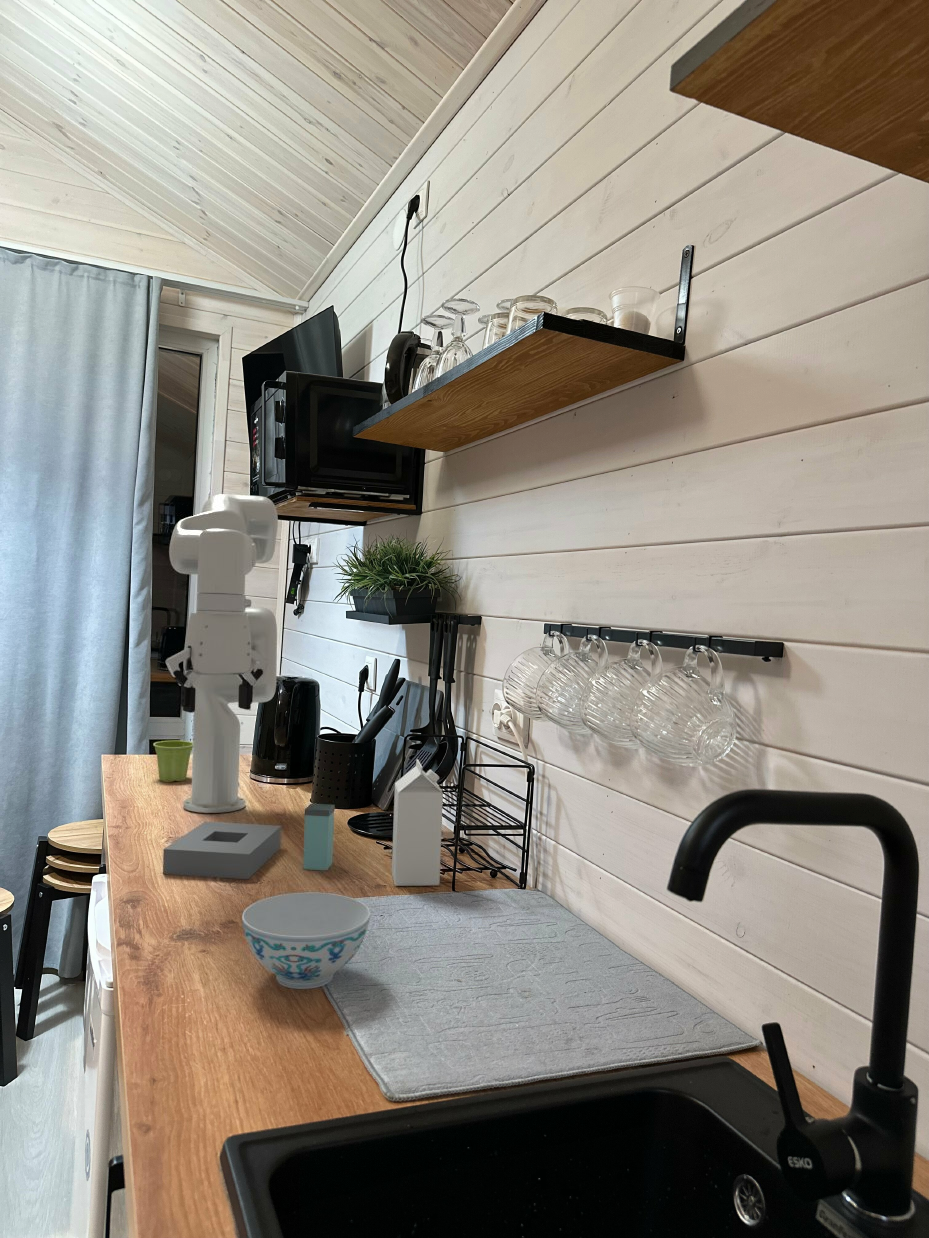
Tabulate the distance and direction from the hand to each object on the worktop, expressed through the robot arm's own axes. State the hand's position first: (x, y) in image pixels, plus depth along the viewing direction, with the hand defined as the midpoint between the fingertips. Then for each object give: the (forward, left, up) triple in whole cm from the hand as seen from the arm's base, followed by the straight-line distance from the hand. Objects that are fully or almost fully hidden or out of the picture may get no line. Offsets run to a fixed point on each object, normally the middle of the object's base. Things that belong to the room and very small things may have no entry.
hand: (217, 710), depth 146 cm
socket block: (-5, 0, -26) cm, 27 cm away
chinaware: (+38, +25, -26) cm, 53 cm away
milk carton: (-1, +33, -26) cm, 42 cm away
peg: (-5, +16, -26) cm, 31 cm away
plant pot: (-65, -34, -26) cm, 78 cm away
